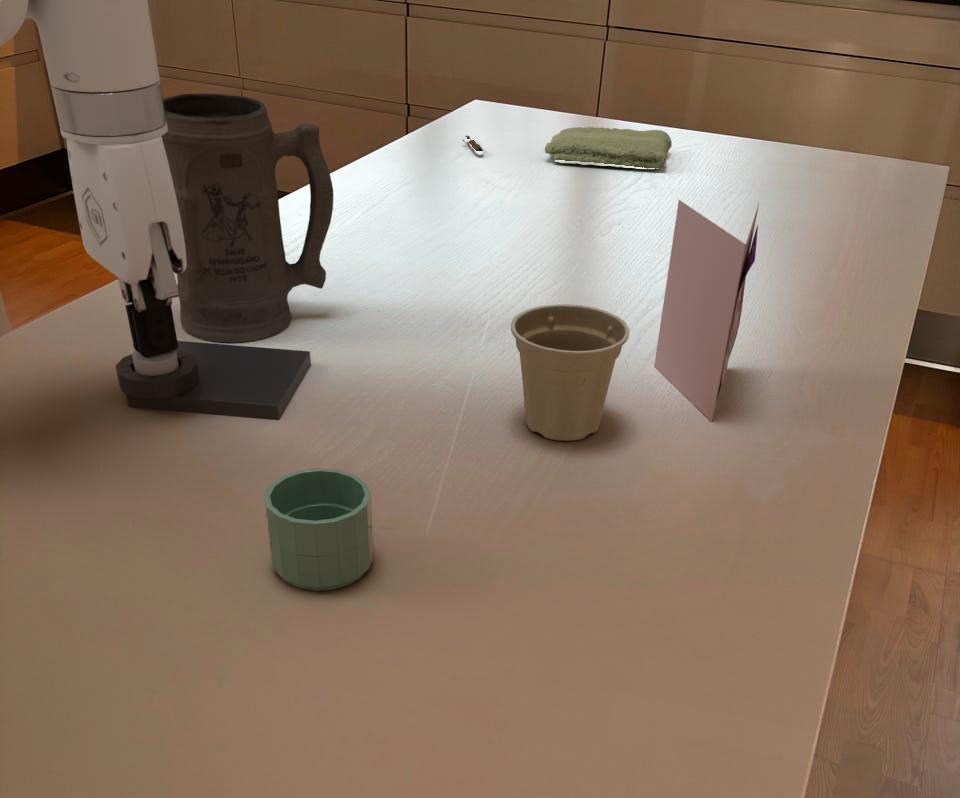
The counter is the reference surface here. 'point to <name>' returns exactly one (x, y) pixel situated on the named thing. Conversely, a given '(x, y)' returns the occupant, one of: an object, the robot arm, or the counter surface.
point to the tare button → (155, 363)
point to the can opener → (474, 144)
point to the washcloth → (611, 146)
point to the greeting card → (702, 306)
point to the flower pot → (567, 366)
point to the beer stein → (240, 215)
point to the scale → (219, 381)
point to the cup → (319, 528)
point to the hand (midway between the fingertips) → (156, 350)
